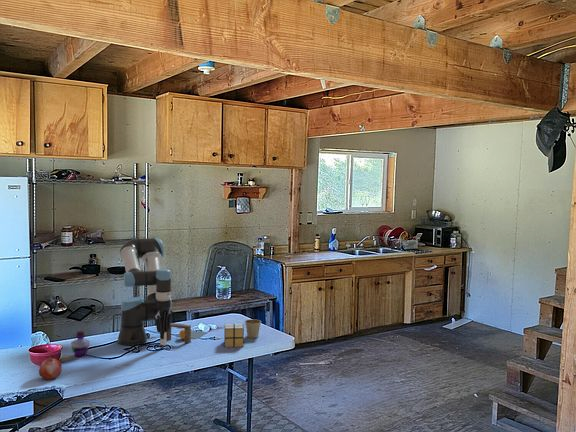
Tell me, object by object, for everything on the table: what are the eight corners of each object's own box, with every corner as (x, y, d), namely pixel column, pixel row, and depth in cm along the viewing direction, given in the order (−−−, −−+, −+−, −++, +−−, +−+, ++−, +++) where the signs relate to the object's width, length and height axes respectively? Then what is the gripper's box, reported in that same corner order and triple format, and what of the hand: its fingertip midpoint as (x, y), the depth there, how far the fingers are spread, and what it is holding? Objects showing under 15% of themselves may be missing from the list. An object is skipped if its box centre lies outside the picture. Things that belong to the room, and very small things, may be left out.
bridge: (187, 343, 271) (187, 326, 270) (164, 340, 276) (164, 323, 275) (190, 342, 273) (190, 325, 273) (168, 339, 279) (168, 322, 278)
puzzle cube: (224, 341, 275) (224, 323, 275) (243, 341, 277) (243, 323, 276) (224, 347, 266) (224, 328, 265) (243, 347, 267) (243, 328, 266)
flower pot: (260, 339, 281) (260, 323, 281) (243, 338, 281) (243, 323, 281) (261, 334, 290) (261, 319, 290) (245, 334, 290) (245, 319, 290)
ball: (176, 332, 277) (182, 326, 281) (178, 340, 279) (183, 334, 283) (184, 333, 274) (190, 327, 279) (186, 342, 276) (192, 336, 281)
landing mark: (175, 336, 284) (175, 335, 284) (188, 330, 296) (188, 330, 296) (195, 339, 279) (195, 338, 279) (207, 333, 291) (207, 332, 291)
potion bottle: (67, 356, 247) (66, 332, 246) (80, 351, 255) (80, 328, 254) (80, 359, 244) (80, 334, 243) (93, 354, 252) (93, 330, 251)
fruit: (49, 373, 226) (48, 350, 225) (66, 375, 223) (66, 353, 222) (33, 380, 217) (32, 357, 216) (51, 383, 214) (51, 359, 214)
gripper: (161, 302, 254) (161, 349, 255) (176, 297, 266) (176, 342, 267) (149, 301, 257) (149, 347, 258) (164, 296, 269) (164, 340, 270)
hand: (163, 344), depth 262 cm, fingers closed
